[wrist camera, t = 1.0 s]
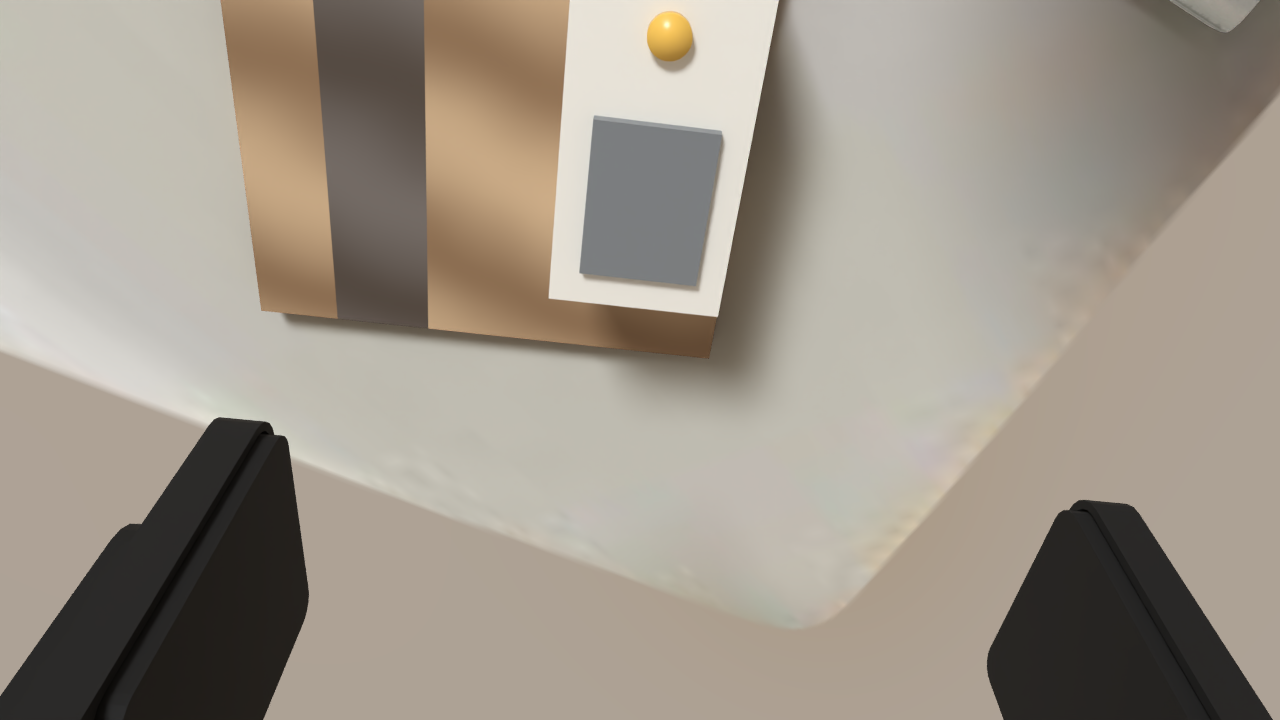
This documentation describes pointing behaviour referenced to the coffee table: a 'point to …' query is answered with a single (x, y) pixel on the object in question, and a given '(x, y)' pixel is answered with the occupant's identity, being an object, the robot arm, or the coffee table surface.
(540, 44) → the subfloor board
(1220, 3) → the hard drive
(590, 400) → the coffee table surface
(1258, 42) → the coffee table surface
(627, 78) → the stud finder
